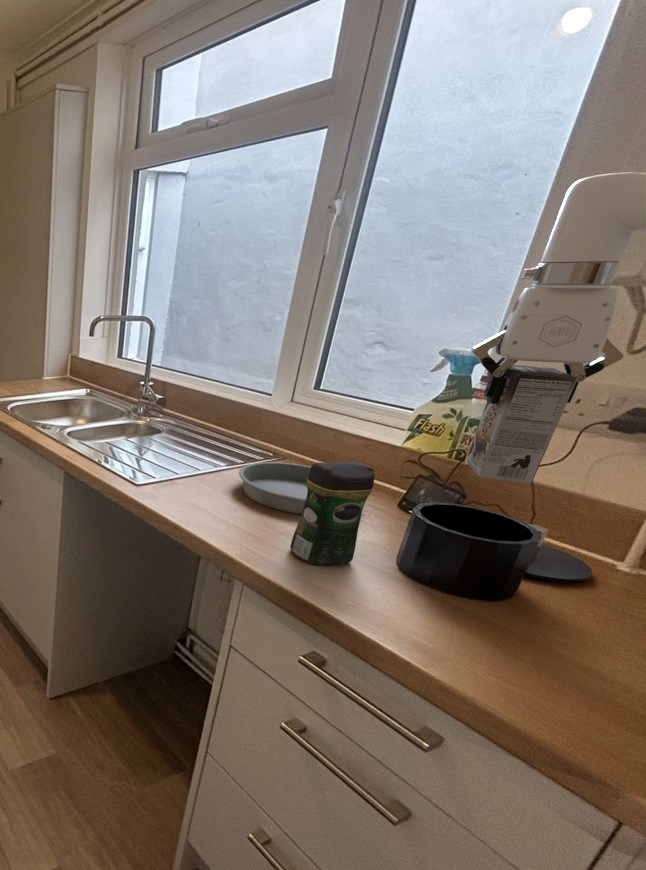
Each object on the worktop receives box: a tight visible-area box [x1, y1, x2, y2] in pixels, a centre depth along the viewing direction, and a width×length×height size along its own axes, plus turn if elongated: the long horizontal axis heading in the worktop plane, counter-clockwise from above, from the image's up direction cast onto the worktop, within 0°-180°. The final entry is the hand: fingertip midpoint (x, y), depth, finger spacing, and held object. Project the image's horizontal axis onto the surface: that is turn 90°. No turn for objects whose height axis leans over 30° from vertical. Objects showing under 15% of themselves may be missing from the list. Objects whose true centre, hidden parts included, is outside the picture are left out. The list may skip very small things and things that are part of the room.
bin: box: [396, 501, 542, 602], centre depth 90 cm, size 16×16×10 cm
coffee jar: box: [289, 461, 376, 566], centre depth 95 cm, size 10×8×19 cm
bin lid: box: [524, 523, 593, 583], centre depth 95 cm, size 17×17×7 cm
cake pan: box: [238, 461, 311, 515], centre depth 123 cm, size 25×25×4 cm
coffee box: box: [465, 364, 578, 485], centre depth 80 cm, size 9×6×16 cm
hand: (523, 403), depth 79 cm, fingers closed on coffee box, 6 cm apart
